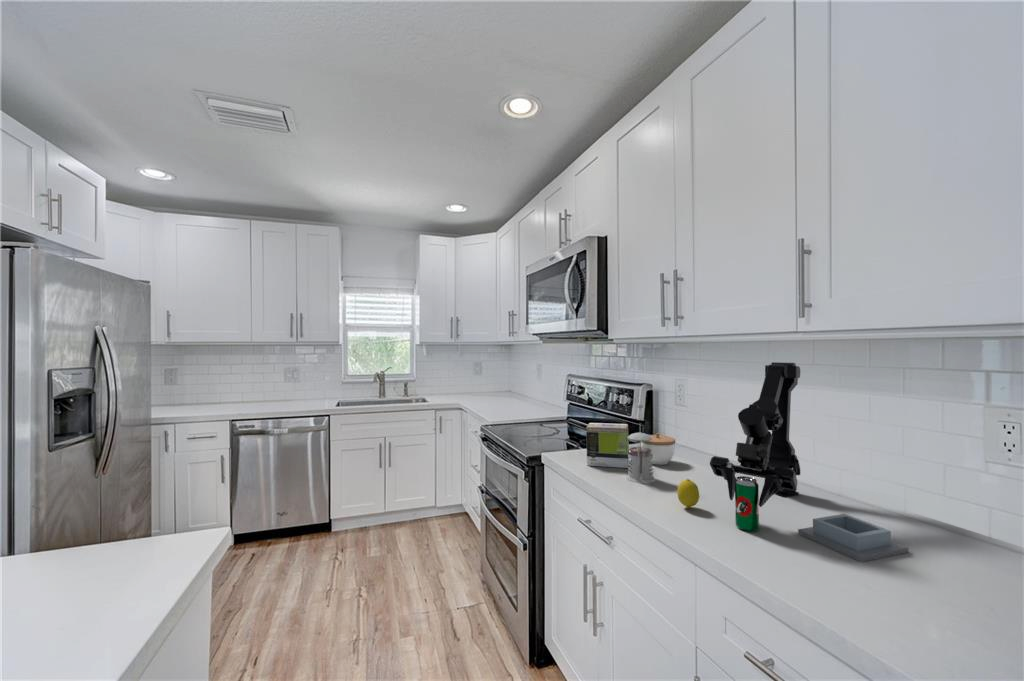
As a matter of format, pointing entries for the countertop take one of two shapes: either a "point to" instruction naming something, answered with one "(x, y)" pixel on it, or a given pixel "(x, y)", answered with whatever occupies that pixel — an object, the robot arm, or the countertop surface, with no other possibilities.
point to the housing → (853, 537)
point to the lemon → (688, 493)
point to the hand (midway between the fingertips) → (745, 502)
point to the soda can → (747, 504)
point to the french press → (640, 459)
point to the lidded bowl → (660, 448)
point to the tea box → (607, 445)
